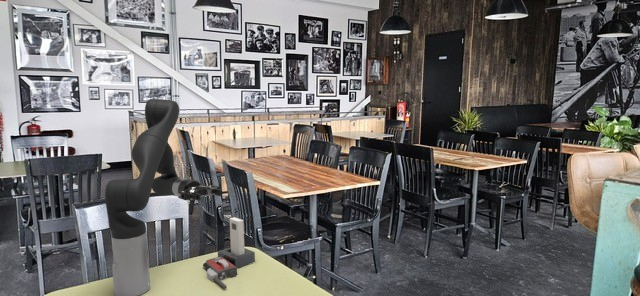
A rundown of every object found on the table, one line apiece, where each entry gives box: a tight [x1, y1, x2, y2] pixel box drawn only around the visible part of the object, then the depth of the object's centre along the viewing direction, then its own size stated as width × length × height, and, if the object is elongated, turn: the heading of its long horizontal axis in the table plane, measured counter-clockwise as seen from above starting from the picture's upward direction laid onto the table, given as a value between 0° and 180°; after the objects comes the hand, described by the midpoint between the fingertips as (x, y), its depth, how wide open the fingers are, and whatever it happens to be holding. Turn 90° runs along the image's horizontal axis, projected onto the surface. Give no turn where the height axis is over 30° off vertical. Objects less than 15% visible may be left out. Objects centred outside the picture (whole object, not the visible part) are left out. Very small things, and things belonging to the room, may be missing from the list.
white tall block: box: [229, 216, 245, 256], centre depth 146 cm, size 5×2×15 cm, turn 46°
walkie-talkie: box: [202, 256, 238, 289], centre depth 137 cm, size 9×4×20 cm
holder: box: [217, 246, 256, 270], centre depth 148 cm, size 10×8×4 cm
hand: (210, 195), depth 150 cm, fingers open, 8 cm apart
